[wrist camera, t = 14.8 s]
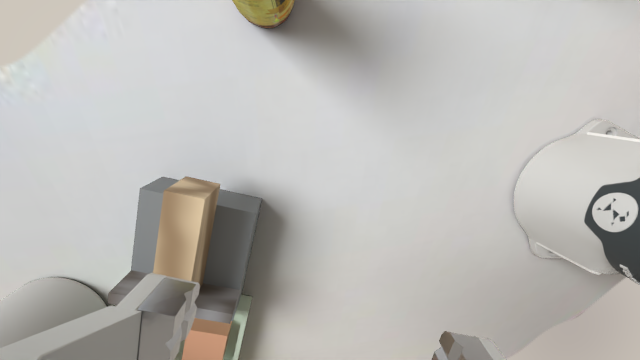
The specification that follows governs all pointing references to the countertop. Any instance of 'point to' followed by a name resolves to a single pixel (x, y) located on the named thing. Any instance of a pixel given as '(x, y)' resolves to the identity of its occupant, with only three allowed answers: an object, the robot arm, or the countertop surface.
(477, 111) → the countertop surface
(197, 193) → the grey and tan blocks
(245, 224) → the board
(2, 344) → the cylinder vase
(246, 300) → the tray
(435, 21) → the countertop surface
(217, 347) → the peach block
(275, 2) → the sauce bottle
